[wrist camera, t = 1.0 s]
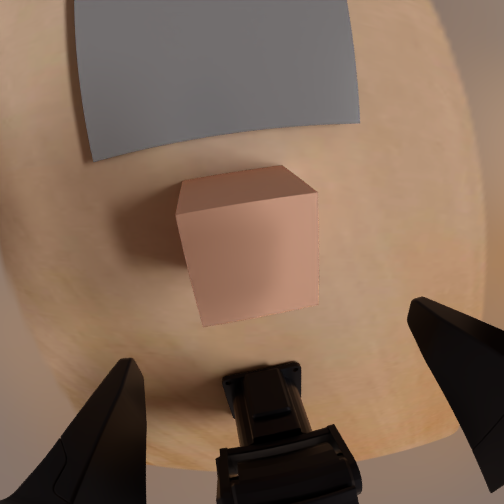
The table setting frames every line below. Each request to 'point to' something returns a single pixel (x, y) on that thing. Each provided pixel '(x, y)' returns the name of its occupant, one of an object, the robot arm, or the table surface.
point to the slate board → (210, 69)
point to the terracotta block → (250, 243)
